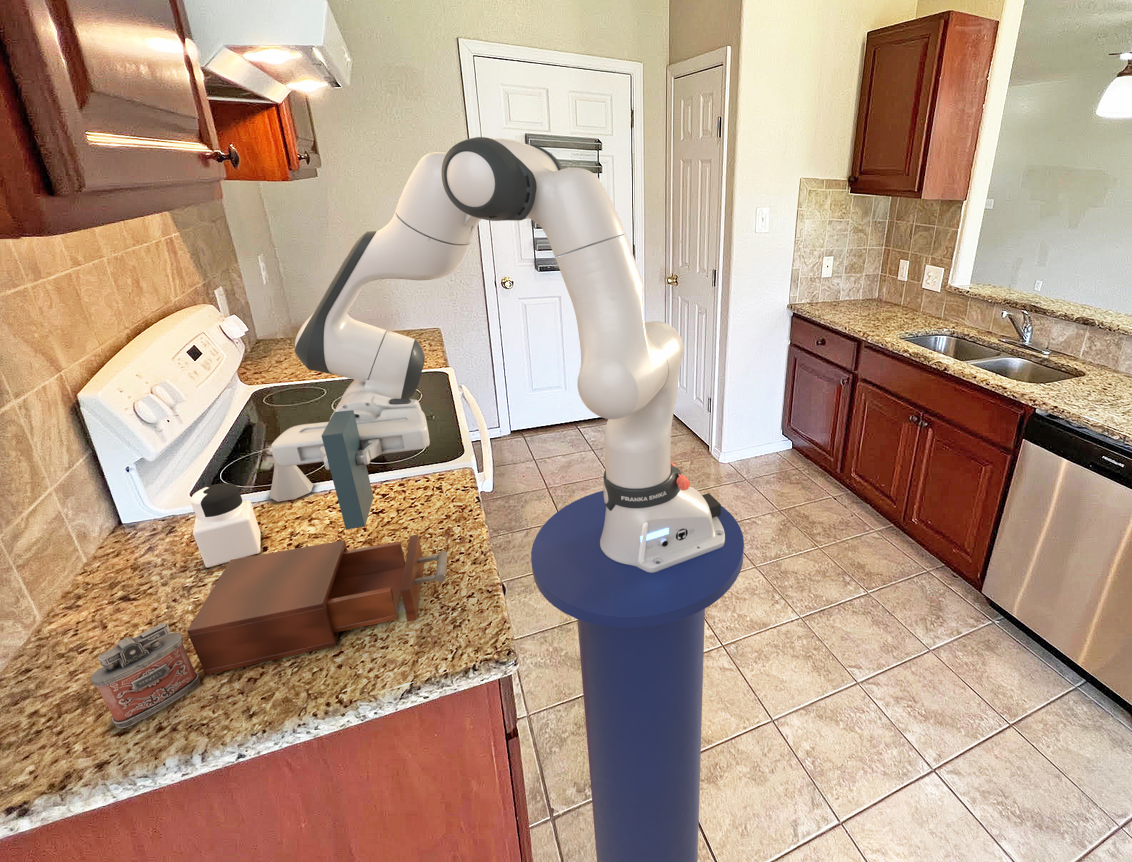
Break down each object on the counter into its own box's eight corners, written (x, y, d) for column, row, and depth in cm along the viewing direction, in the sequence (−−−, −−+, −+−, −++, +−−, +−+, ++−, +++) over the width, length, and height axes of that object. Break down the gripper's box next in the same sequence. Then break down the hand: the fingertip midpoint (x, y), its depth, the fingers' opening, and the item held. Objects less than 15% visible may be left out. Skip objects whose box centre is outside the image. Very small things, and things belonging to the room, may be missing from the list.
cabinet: (355, 578, 92) (345, 540, 89) (335, 646, 79) (323, 603, 76) (245, 600, 87) (230, 559, 84) (205, 675, 74) (186, 630, 71)
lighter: (121, 733, 67) (88, 670, 63) (109, 719, 68) (76, 657, 64) (205, 683, 73) (180, 623, 69) (193, 671, 75) (167, 612, 71)
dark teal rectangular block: (373, 497, 89) (353, 409, 83) (365, 526, 82) (342, 433, 76) (356, 500, 88) (334, 411, 82) (345, 529, 81) (321, 435, 75)
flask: (272, 506, 109) (258, 460, 106) (267, 491, 114) (253, 446, 110) (317, 493, 114) (305, 449, 110) (310, 479, 119) (298, 436, 115)
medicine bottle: (261, 532, 102) (241, 474, 97) (260, 553, 97) (240, 493, 92) (209, 546, 98) (186, 486, 93) (206, 569, 93) (181, 506, 88)
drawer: (451, 557, 96) (446, 529, 94) (448, 612, 84) (442, 581, 82) (329, 581, 90) (320, 551, 88) (307, 644, 78) (296, 611, 76)
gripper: (281, 412, 88) (250, 453, 76) (428, 398, 95) (421, 433, 83) (291, 449, 90) (263, 494, 78) (434, 432, 97) (428, 471, 85)
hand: (346, 462), depth 81 cm, fingers closed on dark teal rectangular block, 2 cm apart
